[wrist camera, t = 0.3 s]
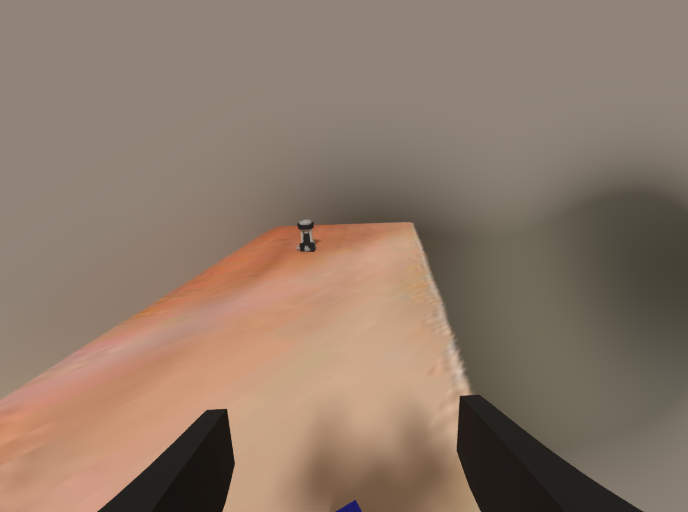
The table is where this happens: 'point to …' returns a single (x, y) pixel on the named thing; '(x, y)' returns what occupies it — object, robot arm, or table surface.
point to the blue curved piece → (350, 507)
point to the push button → (306, 236)
